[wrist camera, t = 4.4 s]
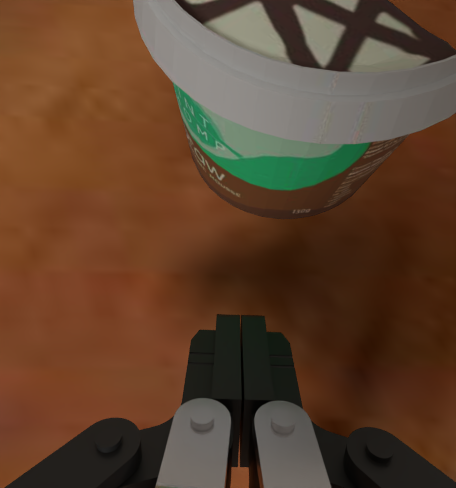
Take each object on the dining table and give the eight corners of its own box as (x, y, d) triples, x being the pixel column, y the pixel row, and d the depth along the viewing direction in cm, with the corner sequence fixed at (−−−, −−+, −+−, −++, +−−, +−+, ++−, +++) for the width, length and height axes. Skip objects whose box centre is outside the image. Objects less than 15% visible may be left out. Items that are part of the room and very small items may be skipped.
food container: (116, 119, 21) (33, -102, 12) (209, 60, 23) (199, -178, 13) (279, 300, 18) (340, 190, 9) (375, 217, 19) (515, 47, 10)
